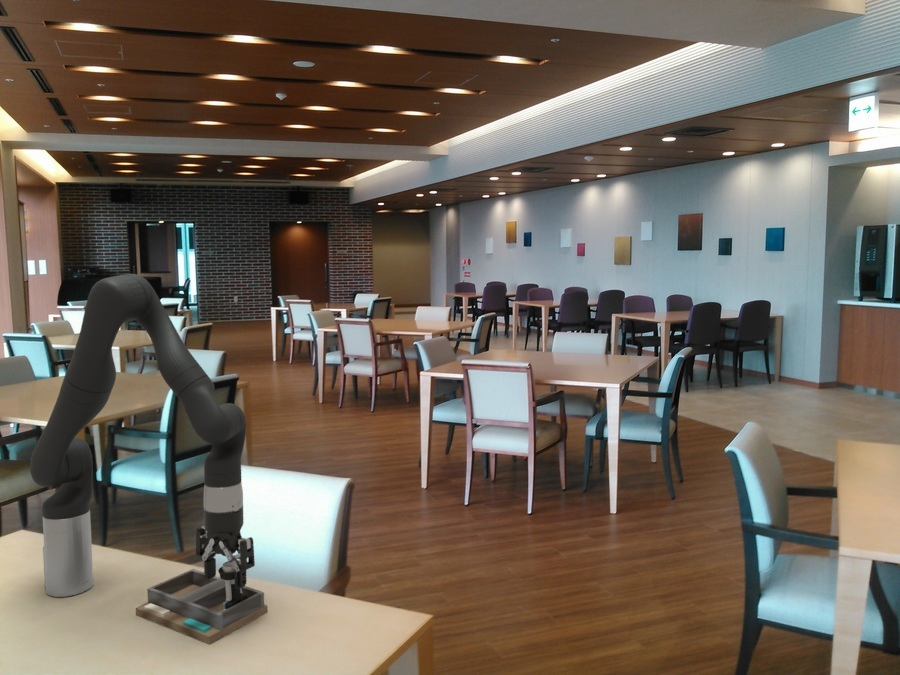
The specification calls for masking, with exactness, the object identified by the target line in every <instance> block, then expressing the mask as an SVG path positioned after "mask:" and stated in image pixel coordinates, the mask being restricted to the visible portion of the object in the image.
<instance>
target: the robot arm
mask: <svg viewBox="0 0 900 675" xmlns="http://www.w3.org/2000/svg"><path fill="white" fill-rule="evenodd" d="M132 321H133V322H134V321H136V323H138V324H139V325H140V326H141V328H142V329H143V330H144V331H145V332H146V333H147V336H149V338H150V341H151V343H152V345H153V346H152V347H153V349H154V353H155V359H156V363H157V364H156V365H157V367H158V370H159V373H160V375H161V377H162V379H163V380H164V381H165V383H166V384H167V386H168V387H169V389H171V391H172V393H173V394H175V396H176V397H177V398H178V400H179V401H180V402H181V404H182V405H183V408H184V410H185V413H186V415H187V417H188V420H189V421H190V424H191V426H192V428H193V429H194V431H195V433H196V434H197V435H198V437H199V438H200V439H202V441H203V442H205V443H207V444H209V445H211V449H210V451H209V453H208V454H207V456H206V457H205V460H204V466H203V468H204V469H203V471H204V472H203V474H204V476H203V477H204V481H203V482H204V486H203V487H204V488H203V525H202V526H200V527H198V528H196V531H195V532H196V533H195V535H196V536H195V554H196V556H197V557H201V560H202V561H203V566H204V567H203V572H204V573H205V578H207V579H210V578H213V577H215V576H217V564H216V562H217V560H216V556H217V555H222V556H223V557H225V558H226V559H227V561H229V562H231V563H232V565H233V567H234V569H235V571H234V578H235V588H236V589H240V588H242V587H244V586H246V584H247V570H249V569H251V568H253V567H255V566H256V565H255V548H254V547H255V546H254V538H253V537H252V536H250V537H247V538H244V537H242V534H241V530H242V528H243V526H244V490H243V484H242V464H241V463H242V457H243V456H242V455H243V452H244V446H245V441H246V440H245V439H246V433H247V420H246V416H245V413H244V411H243V409H242V408H241V407H240V406H238V405H237V404H234V403H232V402H229V403H228V402H227V403H223V404H218V403H217V402H216V400H215V398H214V396H213V393H214V391H215V384H214V381H213V380H212V379H211V378H210V377H209V375H208V374H207V372H206V371H205V370H204V368H203V367H202V366H201V365H200V363H199V362H198V361H197V360H196V359H195V357H194V356H193V355H192V353H191V351H190V350H189V349H188V348H187V346H186V344H185V342H184V341H183V340H182V338H181V336H180V334H179V332H178V330H177V329H176V327H175V325H174V323H173V321H172V320H171V317H170V316H169V314H168V312H167V311H166V308H165V307H164V305H163V304H162V302H161V300H160V297H159V296H158V294H157V293H156V291H155V289H154V287H153V286H152V285H151V283H150V282H149V281H148V280H147V279H146V278H145V277H143V276H142V275H140V274H137V273H127V274H120V275H113V276H109V277H104V278H102V279H99V280H98V281H97V282H96V283H94V285H93V286H92V287H91V289H90V292H89V293H88V297H87V301H86V304H85V308H84V314H83V318H82V323H81V328H80V331H79V335H78V338H77V341H76V344H75V347H74V350H73V353H72V357H71V358H70V363H69V365H68V366H67V369H66V372H65V375H64V378H63V381H62V382H61V387H60V390H59V392H58V394H57V395H58V396H57V398H56V400H55V404H54V407H53V409H52V411H51V414H50V415H49V416H50V417H49V418H48V421H47V424H46V425H45V427H44V428H43V431H42V433H41V435H40V437H39V439H38V441H37V443H36V444H35V446H34V449H33V451H32V455H31V458H30V463H29V465H30V466H29V469H30V470H29V471H30V476H31V479H32V480H33V482H34V483H35V484H37V485H38V486H40V487H43V488H44V487H45V488H49V487H55V486H59V485H60V487H59V488H58V489H57V491H55V493H53V494H52V495H51V496H49V497H48V498H47V499H45V500H44V501H43V503H42V505H41V514H42V530H43V548H42V556H43V559H42V560H43V573H44V574H43V575H44V576H43V577H44V589H45V591H46V594H47V595H48V596H50V597H55V598H61V597H63V598H65V597H70V596H75V595H79V594H82V593H84V592H86V591H88V590H90V589H91V588H92V587H93V586H94V574H93V572H94V571H93V570H94V569H93V565H94V564H93V548H92V545H93V544H92V522H91V500H92V499H93V498H92V497H93V476H94V475H93V474H94V473H93V468H94V465H93V463H94V461H93V454H92V451H91V448H90V445H89V444H88V442H86V440H85V439H83V438H81V437H76V436H77V435H78V434H79V433H80V432H82V431H83V429H85V427H87V426H88V424H90V423H91V421H93V420H94V418H96V417H97V416H98V415H99V414H100V413H101V411H102V410H103V409H104V408H105V406H106V404H107V403H108V400H109V399H110V396H111V393H112V391H113V388H114V386H115V382H116V379H117V378H116V377H117V370H116V369H117V368H116V365H115V361H114V358H113V354H112V351H113V350H112V349H113V345H114V342H115V339H116V337H117V335H118V332H119V331H120V329H121V327H122V326H123V325H124V324H125V323H129V322H132ZM235 553H237V554H235ZM233 554H235V555H233ZM237 560H239V561H240V562H241V564H239V563H238V561H237Z"/></svg>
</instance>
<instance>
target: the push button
mask: <svg viewBox="0 0 900 675" xmlns="http://www.w3.org/2000/svg"><path fill="white" fill-rule="evenodd" d="M237 561H238V563H239V564H241V562H240V560H239V559H237ZM217 571H218V574H219V578H221V579H223V580H224V581H225V587H226V601H225V602H224V603H223V611H224V610H226V609H228V608H230V607H232V606H234V605H236V604H238V603H240V602H242V601H244V600H245V599H247V596H246V595H242V589H241V588H240V589H236V588H235V578H234V571H235V569H234V567H233V565H232V563H231V562H229V561H228V560H227V561H225V562H224V563H222V566H221V567H219V568H218V570H217ZM221 612H222V611H221Z"/></svg>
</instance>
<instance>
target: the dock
mask: <svg viewBox="0 0 900 675" xmlns="http://www.w3.org/2000/svg"><path fill="white" fill-rule="evenodd" d="M241 589H242V595H246V596H247V599H245V600H244V601H242V602H240V603H238V604H236V605H234V606H232V607H230V608H228V609H226V610H224V611H223V603H224V602H225V601H226V587H225V581H224V580H223V579H221V578H220V576H217V575H215V577H213V578H210V579H207V578H205V573H204V571H200V570H198V569H195V568H192V569H190V570H187V571H185V572H183V573H180V574H178V575H176V576H173V577H171V578H169V579H166V580H165V581H162V582H160V583H157V584H155V585H152V586H150V587H149V588H147V602H145V603H143V604H141V605H139V606H136V607H135V615H136V616H139V617H141V618H143V619H146V620H148V621H151V622H153V623H155V624H158V625H161V626H163V627H166V628H168V629H171V630H173V631H175V632H178V633H180V634H183V635H185V636H189V637H191V638H193V639H196V640H197V641H201V642H203V643H205V644H208V645H211V644H214V643H215V642H217V641H218V640H221V639H222V638H224V637H225V635H226V636H227V635H229V634H231V633H233V632H234V631H236V630H238V629H240V628H242V627H243V626H245V625H247V624H249V623H251V622H253V621H254V620H256V619H258V618H259V617H261V616H264V615H265V614H267V613H268V604H265V592H264V591H261V590H259V589H255V588H252V587H249V586H246V585H245V586H244V587H242V588H241ZM221 611H222V612H221ZM232 631H233V632H232ZM230 632H231V633H230ZM223 636H224V637H223ZM216 640H217V641H216Z"/></svg>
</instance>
